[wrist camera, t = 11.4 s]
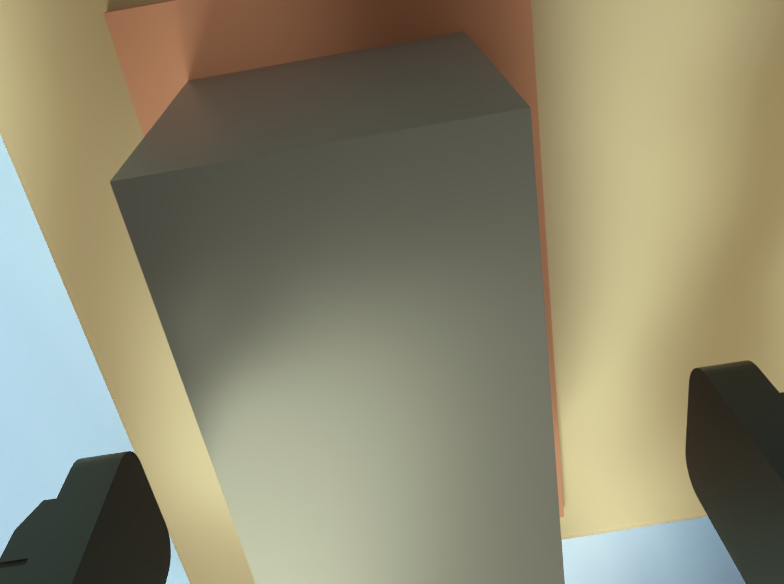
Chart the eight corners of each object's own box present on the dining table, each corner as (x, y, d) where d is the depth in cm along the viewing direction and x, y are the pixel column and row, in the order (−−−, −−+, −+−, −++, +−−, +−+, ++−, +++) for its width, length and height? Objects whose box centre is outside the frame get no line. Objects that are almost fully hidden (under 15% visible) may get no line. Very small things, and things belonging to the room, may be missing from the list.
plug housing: (464, 31, 13) (530, 106, 8) (514, 490, 18) (572, 687, 13) (188, 80, 13) (109, 181, 8) (315, 523, 18) (308, 729, 14)
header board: (872, -198, 13) (1145, -241, 9) (788, 457, 20) (913, 617, 16) (-27, -36, 13) (-207, 3, 9) (205, 553, 20) (169, 734, 16)
